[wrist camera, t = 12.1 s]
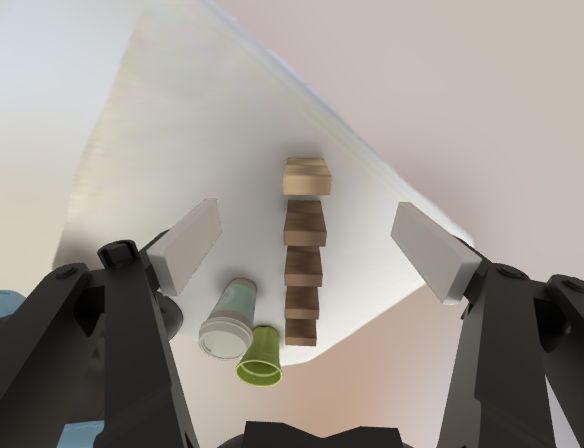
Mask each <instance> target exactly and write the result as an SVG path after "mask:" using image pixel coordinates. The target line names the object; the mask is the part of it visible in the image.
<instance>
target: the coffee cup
mask: <svg viewBox="0 0 584 448" xmlns="http://www.w3.org/2000/svg"><path fill="white" fill-rule="evenodd" d="M256 292H257V290H256V287H255V285H254V284H253V283H252V282H251V281H249V280H247V279H241V278H239V279H234V280H232V281H231V282H230V283H229V285H228V287H227V288H226V290H225V291H224V293H223V295H222V296H221V298H220V299H219V301H218V303H217V304H216V306H215V308H214V309H213V311H212V312H211V314H210V316H209V317H208V319H207V320H206V321H205V322H204V323H203V324H202V325H201V328H200V331H199V346H200V348H201V350H202V351H203V352H204V353H205V354H207V355H208V356H210V357H213V358H215V359H219V360H225V361H230V360H236V359H239V358H241V357H243V356H244V355H245V353H246V351H247V350H248V348H249V347H250V345H251V343H252V341H253V335H252V328H253V319H254V310H255V301H256Z"/></svg>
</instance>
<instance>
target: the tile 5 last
mask: <svg viewBox="0 0 584 448" xmlns="http://www.w3.org/2000/svg"><path fill="white" fill-rule="evenodd" d="M316 340H317V336H316V320H315V319H294V318H287V322H286V335H285V345H297V346H316Z"/></svg>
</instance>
